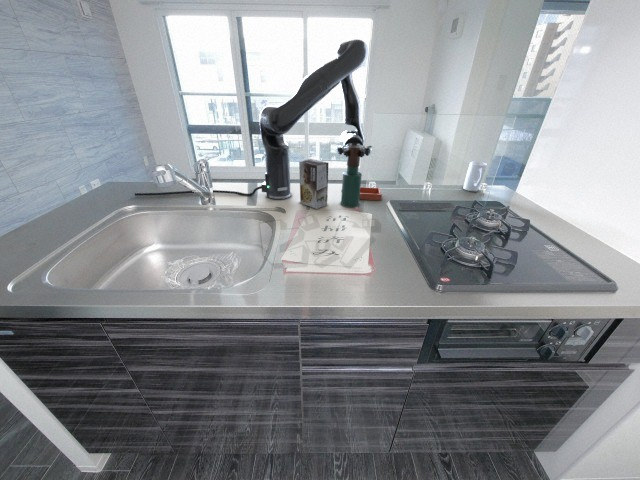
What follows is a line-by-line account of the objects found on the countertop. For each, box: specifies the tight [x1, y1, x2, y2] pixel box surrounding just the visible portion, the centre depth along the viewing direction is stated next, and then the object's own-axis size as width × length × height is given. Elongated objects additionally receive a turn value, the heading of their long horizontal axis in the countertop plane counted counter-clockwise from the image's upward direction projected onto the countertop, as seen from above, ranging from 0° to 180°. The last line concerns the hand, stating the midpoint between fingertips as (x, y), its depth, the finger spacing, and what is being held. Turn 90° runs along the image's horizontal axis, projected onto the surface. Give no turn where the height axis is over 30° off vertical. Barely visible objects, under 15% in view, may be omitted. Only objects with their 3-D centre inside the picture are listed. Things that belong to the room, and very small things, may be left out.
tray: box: [359, 186, 382, 201], centre depth 111 cm, size 9×8×2 cm
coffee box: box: [298, 158, 329, 210], centre depth 99 cm, size 9×6×16 cm
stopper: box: [346, 145, 361, 168], centre depth 95 cm, size 5×5×9 cm
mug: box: [462, 160, 488, 192], centre depth 119 cm, size 10×7×12 cm, turn 173°
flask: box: [340, 165, 363, 208], centre depth 100 cm, size 7×7×15 cm
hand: (354, 154), depth 92 cm, fingers closed on stopper, 4 cm apart
